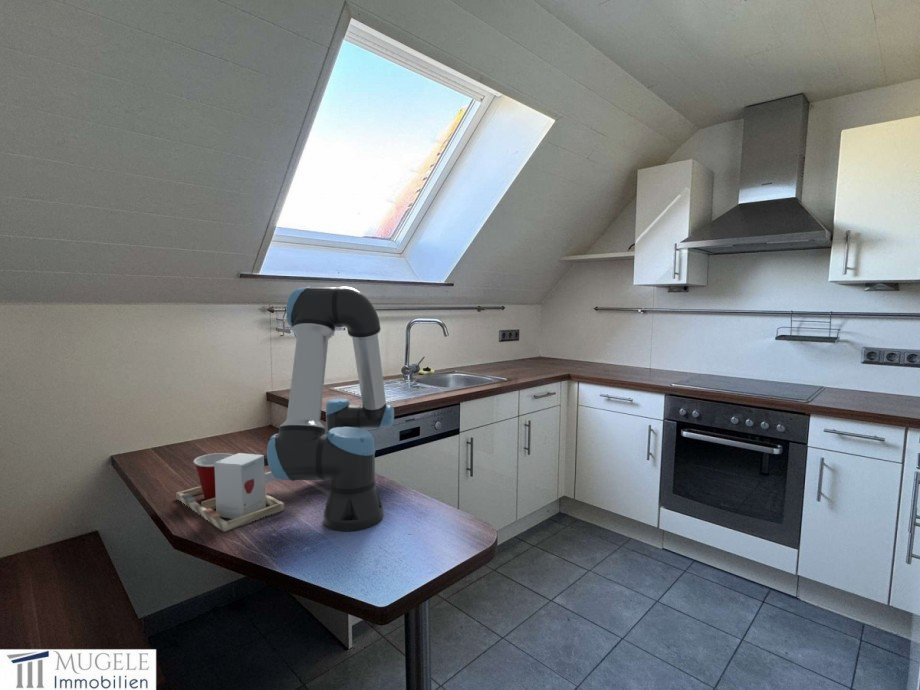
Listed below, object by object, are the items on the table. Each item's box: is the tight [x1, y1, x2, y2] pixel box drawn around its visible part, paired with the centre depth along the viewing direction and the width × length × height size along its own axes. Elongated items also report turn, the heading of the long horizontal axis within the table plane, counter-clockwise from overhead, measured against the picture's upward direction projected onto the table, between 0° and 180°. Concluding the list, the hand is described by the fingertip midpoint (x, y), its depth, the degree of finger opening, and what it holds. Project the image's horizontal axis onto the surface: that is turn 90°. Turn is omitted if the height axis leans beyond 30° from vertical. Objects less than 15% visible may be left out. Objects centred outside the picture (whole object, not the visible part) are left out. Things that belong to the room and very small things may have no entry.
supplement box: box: [214, 452, 267, 520], centre depth 125 cm, size 9×9×15 cm
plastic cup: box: [193, 452, 234, 501], centre depth 135 cm, size 11×11×12 cm
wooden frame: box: [176, 485, 285, 532], centre depth 130 cm, size 32×16×3 cm, turn 50°
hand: (251, 473), depth 128 cm, fingers open, 13 cm apart
